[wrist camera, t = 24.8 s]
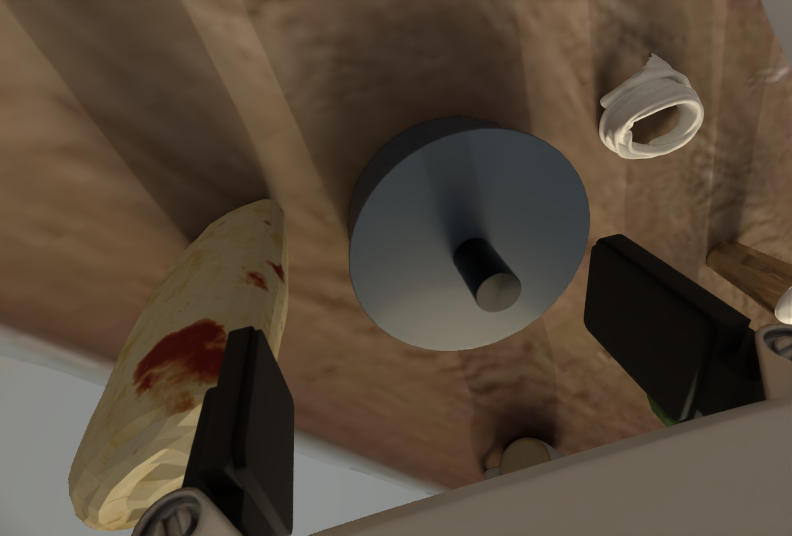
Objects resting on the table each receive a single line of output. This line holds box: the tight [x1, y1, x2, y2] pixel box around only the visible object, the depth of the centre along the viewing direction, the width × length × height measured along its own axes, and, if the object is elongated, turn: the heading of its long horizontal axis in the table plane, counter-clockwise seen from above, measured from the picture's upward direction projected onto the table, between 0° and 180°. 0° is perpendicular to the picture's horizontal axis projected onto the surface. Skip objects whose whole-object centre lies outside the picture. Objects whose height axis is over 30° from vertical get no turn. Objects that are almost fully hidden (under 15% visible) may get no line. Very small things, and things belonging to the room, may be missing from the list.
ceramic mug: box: [485, 437, 566, 480], centre depth 49 cm, size 11×8×8 cm
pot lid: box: [349, 127, 590, 351], centre depth 27 cm, size 17×17×6 cm
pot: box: [347, 115, 505, 239], centre depth 31 cm, size 16×16×6 cm
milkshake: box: [707, 240, 792, 324], centre depth 37 cm, size 4×5×10 cm
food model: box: [68, 199, 288, 531], centre depth 23 cm, size 10×7×20 cm
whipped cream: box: [599, 53, 704, 159], centre depth 30 cm, size 8×7×5 cm
